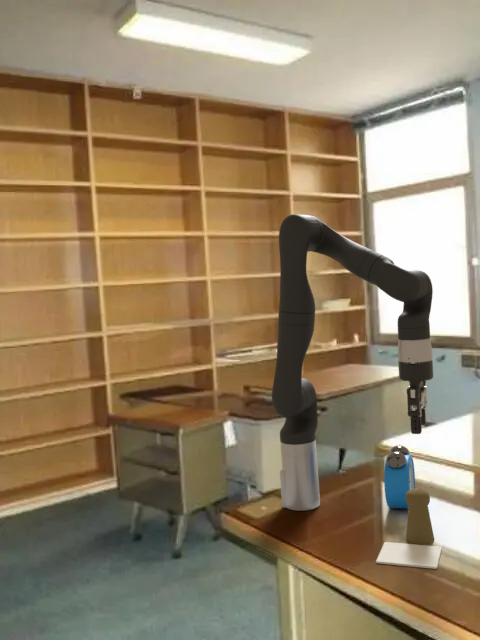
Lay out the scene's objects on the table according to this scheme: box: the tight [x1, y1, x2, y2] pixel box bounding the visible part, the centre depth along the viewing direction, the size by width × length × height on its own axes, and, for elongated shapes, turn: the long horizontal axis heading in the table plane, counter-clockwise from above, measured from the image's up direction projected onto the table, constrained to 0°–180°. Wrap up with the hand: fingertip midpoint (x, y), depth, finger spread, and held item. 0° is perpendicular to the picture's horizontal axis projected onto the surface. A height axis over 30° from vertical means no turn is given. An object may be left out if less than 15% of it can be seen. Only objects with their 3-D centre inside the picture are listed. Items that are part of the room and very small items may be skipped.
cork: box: [405, 488, 435, 545], centre depth 143 cm, size 6×6×11 cm
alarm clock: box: [383, 444, 416, 510], centre depth 163 cm, size 13×6×15 cm, turn 159°
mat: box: [375, 541, 443, 570], centre depth 136 cm, size 12×10×1 cm
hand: (418, 429), depth 149 cm, fingers open, 8 cm apart
